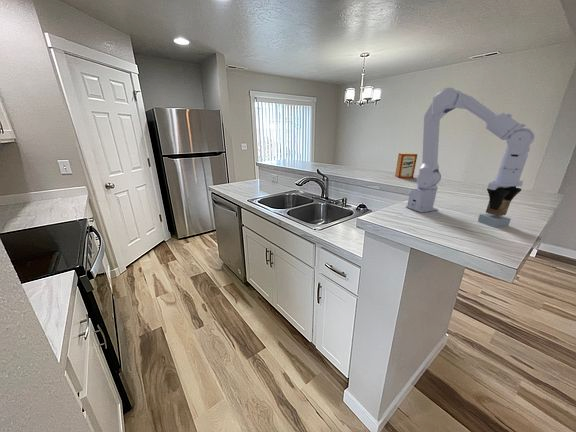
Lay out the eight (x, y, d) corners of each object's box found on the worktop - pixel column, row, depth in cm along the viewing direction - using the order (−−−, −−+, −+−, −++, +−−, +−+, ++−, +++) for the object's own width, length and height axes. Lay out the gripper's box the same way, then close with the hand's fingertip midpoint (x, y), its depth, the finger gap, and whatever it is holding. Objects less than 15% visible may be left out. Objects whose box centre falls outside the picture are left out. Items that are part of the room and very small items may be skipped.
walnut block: (498, 216, 79) (503, 202, 77) (485, 212, 82) (489, 198, 81) (505, 214, 80) (510, 200, 78) (492, 211, 84) (497, 197, 82)
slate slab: (495, 228, 79) (497, 220, 78) (477, 222, 85) (479, 214, 84) (508, 226, 81) (511, 218, 80) (490, 220, 86) (492, 212, 85)
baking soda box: (409, 176, 164) (413, 152, 159) (412, 178, 158) (417, 153, 152) (395, 176, 165) (398, 152, 159) (398, 177, 159) (402, 153, 153)
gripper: (511, 171, 70) (497, 214, 75) (539, 169, 75) (524, 209, 79) (485, 168, 76) (474, 208, 81) (513, 165, 81) (500, 203, 86)
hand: (497, 208), depth 81 cm, fingers closed on walnut block, 4 cm apart
